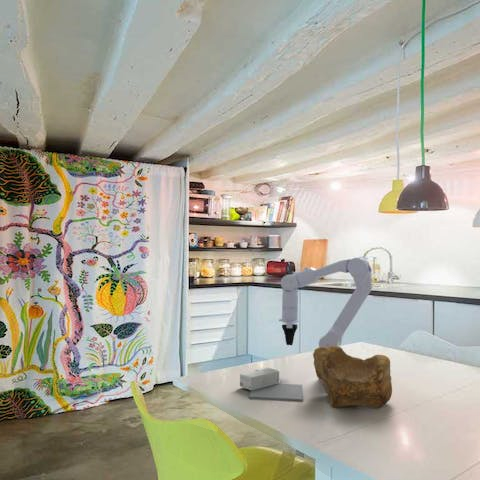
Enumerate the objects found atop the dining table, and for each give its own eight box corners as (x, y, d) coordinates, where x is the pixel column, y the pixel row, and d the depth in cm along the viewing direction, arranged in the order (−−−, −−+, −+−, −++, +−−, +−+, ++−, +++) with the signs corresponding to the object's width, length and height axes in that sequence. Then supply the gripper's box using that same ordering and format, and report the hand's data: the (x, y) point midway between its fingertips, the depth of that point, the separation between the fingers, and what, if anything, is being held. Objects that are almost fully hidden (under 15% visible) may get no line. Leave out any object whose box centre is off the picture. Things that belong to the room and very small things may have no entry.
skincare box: (279, 370, 135) (251, 376, 127) (279, 384, 134) (251, 391, 127) (266, 367, 140) (239, 372, 132) (266, 380, 139) (239, 386, 132)
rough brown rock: (300, 408, 117) (300, 356, 116) (316, 386, 132) (316, 341, 131) (386, 426, 106) (386, 370, 106) (393, 400, 121) (393, 351, 121)
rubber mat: (302, 386, 134) (302, 384, 134) (303, 401, 120) (303, 399, 120) (253, 384, 136) (253, 382, 136) (249, 398, 122) (249, 396, 122)
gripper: (279, 304, 157) (279, 340, 157) (278, 309, 143) (277, 348, 143) (298, 305, 156) (297, 341, 156) (298, 310, 142) (297, 349, 142)
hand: (289, 344), depth 149 cm, fingers closed
